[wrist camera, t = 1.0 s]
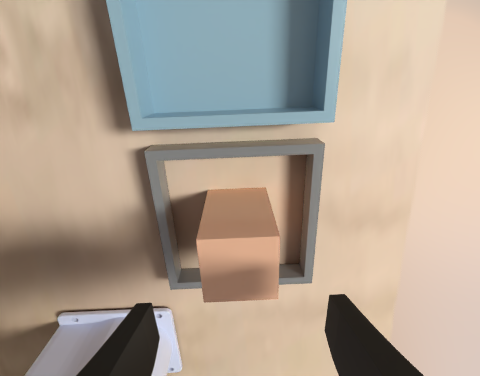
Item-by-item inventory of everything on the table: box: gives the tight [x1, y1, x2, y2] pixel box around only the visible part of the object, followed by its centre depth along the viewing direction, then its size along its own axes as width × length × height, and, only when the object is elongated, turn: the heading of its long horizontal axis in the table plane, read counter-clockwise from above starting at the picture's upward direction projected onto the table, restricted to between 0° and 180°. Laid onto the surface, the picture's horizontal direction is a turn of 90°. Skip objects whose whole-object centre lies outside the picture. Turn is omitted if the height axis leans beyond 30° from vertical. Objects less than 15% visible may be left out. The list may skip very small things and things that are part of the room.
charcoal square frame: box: [144, 138, 325, 290], centre depth 18 cm, size 11×11×2 cm
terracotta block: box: [196, 188, 280, 302], centre depth 16 cm, size 4×4×6 cm
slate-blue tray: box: [106, 0, 347, 131], centre depth 12 cm, size 11×11×3 cm
